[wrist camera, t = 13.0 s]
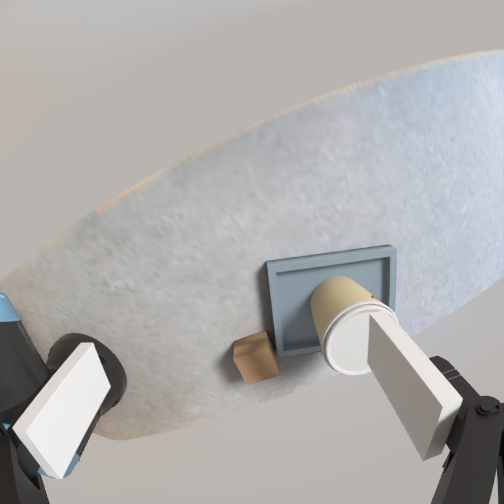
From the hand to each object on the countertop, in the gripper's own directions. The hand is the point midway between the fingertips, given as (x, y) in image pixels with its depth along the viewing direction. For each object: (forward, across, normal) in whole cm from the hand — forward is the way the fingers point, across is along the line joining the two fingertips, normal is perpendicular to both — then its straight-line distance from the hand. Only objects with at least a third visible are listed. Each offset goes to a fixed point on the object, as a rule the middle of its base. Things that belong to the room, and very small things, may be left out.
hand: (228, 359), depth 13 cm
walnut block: (+29, 0, -18) cm, 34 cm away
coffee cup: (+28, +12, -11) cm, 32 cm away
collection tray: (+29, +12, -11) cm, 33 cm away
